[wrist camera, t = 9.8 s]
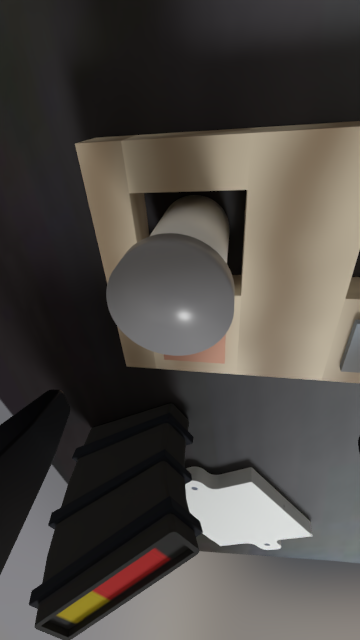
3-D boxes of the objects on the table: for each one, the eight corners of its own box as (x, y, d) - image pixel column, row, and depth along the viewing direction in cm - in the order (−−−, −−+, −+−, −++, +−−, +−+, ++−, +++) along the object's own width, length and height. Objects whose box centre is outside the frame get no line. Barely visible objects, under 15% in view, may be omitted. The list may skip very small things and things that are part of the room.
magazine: (60, 445, 32) (23, 628, 18) (161, 373, 31) (199, 507, 18) (85, 464, 34) (67, 646, 20) (181, 395, 33) (231, 535, 19)
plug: (238, 185, 16) (237, 246, 10) (235, 268, 19) (232, 359, 12) (150, 188, 17) (93, 246, 10) (159, 267, 20) (118, 352, 13)
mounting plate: (319, 526, 38) (322, 544, 36) (231, 537, 44) (231, 553, 42) (237, 450, 31) (237, 469, 29) (147, 476, 37) (143, 492, 36)
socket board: (585, 106, 12) (665, 109, 10) (437, 361, 20) (462, 395, 18) (95, 137, 16) (71, 144, 14) (136, 343, 24) (124, 370, 22)
